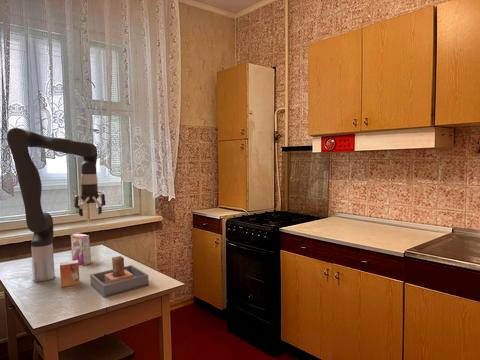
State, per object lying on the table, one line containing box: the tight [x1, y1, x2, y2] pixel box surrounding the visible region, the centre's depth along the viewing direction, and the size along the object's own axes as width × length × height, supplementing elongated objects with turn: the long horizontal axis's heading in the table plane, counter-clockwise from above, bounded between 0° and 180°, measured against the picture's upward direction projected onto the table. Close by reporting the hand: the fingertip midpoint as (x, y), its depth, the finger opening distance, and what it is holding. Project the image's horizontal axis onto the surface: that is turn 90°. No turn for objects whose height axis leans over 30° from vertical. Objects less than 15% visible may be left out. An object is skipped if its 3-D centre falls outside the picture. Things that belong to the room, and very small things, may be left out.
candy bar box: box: [70, 233, 92, 266], centre depth 195 cm, size 11×5×16 cm, turn 58°
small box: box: [59, 260, 81, 288], centre depth 163 cm, size 8×6×10 cm
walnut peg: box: [111, 255, 125, 277], centre depth 159 cm, size 4×4×12 cm
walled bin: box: [89, 264, 150, 298], centre depth 159 cm, size 20×20×5 cm
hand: (90, 215), depth 173 cm, fingers open, 8 cm apart
